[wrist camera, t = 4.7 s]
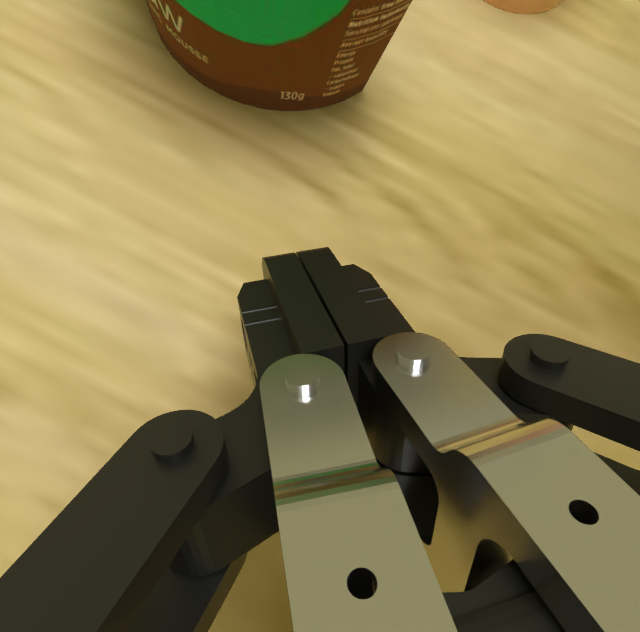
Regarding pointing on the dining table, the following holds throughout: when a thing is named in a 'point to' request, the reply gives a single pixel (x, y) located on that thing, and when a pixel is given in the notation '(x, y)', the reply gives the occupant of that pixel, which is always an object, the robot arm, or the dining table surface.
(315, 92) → the food container
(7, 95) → the dining table surface
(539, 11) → the peach rounded cylinder
